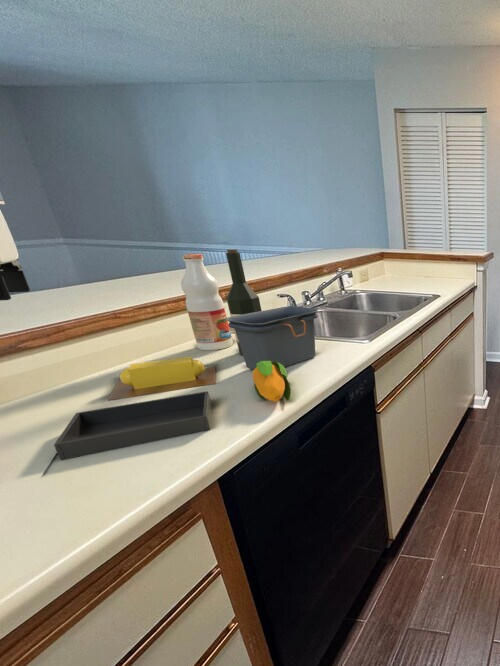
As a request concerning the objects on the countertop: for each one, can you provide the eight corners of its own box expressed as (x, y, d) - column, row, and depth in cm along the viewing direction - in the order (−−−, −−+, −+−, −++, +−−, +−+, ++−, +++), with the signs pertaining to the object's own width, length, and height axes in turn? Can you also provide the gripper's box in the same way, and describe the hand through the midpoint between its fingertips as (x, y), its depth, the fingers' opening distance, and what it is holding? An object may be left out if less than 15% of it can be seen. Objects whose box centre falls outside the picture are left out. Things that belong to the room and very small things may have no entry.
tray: (61, 463, 72) (53, 444, 70) (83, 429, 83) (76, 412, 81) (211, 432, 83) (206, 416, 81) (212, 405, 94) (208, 391, 92)
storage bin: (297, 349, 132) (288, 304, 127) (335, 356, 127) (328, 309, 121) (232, 370, 114) (219, 318, 108) (273, 379, 108) (262, 325, 103)
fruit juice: (198, 344, 135) (173, 253, 124) (233, 340, 139) (212, 252, 129) (197, 352, 127) (170, 256, 117) (233, 348, 132) (210, 255, 121)
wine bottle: (242, 348, 131) (219, 248, 120) (272, 347, 134) (252, 248, 122) (235, 357, 124) (209, 251, 113) (267, 355, 126) (245, 250, 115)
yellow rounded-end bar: (122, 391, 99) (115, 371, 97) (125, 385, 102) (118, 365, 100) (206, 378, 107) (201, 360, 105) (207, 373, 111) (202, 355, 109)
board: (108, 401, 94) (107, 400, 94) (119, 381, 105) (119, 380, 105) (214, 384, 105) (214, 383, 104) (215, 368, 115) (215, 366, 115)
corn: (279, 351, 105) (291, 375, 90) (287, 379, 109) (300, 407, 93) (245, 358, 102) (252, 384, 86) (254, 386, 105) (263, 417, 90)
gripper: (-42, 194, 76) (-3, 290, 82) (-97, 190, 63) (-45, 305, 69) (18, 196, 80) (51, 288, 86) (-21, 194, 66) (21, 302, 73)
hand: (8, 295), depth 77 cm, fingers open, 9 cm apart
